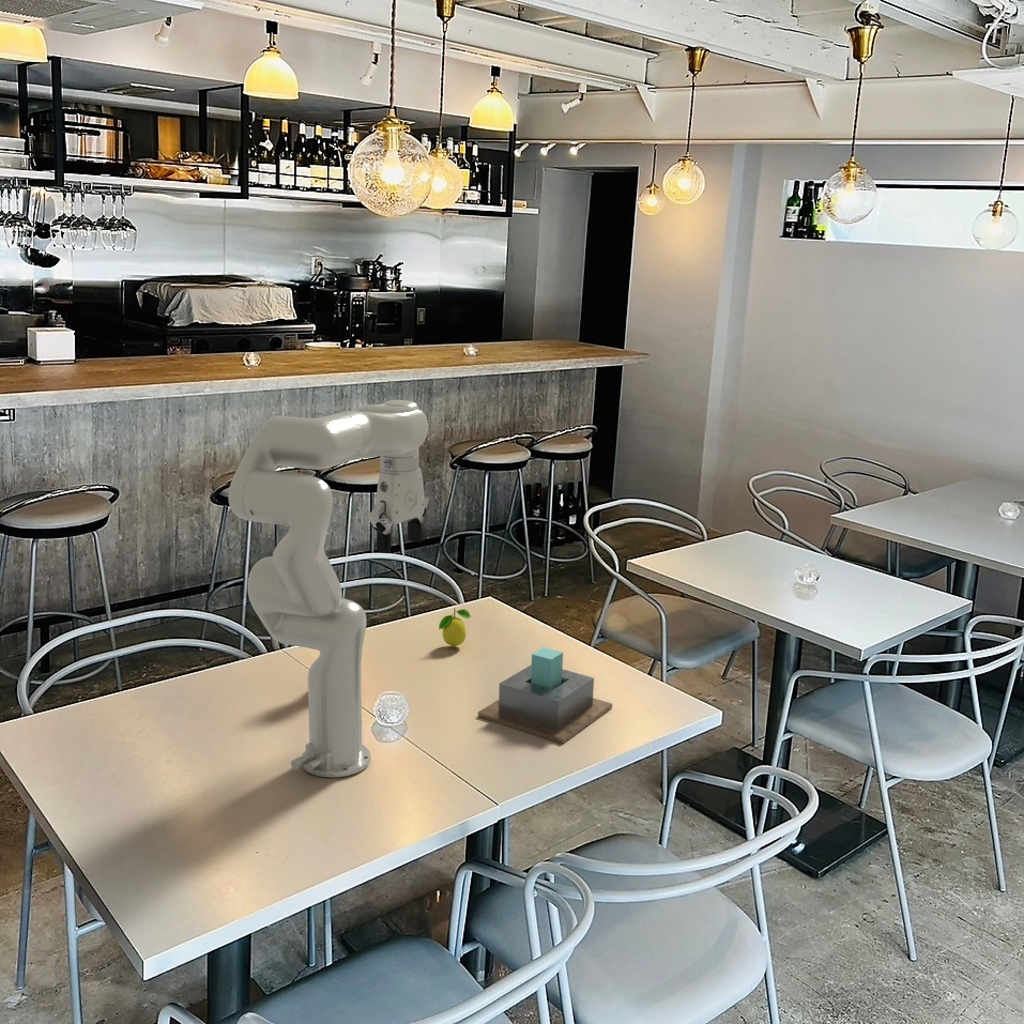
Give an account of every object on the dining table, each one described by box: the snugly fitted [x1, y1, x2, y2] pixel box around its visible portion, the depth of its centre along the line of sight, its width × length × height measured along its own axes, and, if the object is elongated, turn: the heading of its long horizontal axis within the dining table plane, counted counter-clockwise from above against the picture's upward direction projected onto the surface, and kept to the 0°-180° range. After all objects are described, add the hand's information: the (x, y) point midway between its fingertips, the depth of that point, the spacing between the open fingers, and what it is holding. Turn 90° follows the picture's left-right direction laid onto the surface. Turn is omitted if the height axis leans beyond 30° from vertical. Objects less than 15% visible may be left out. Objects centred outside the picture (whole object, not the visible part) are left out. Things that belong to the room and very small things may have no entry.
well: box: [477, 664, 613, 745], centre depth 217 cm, size 20×20×7 cm
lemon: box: [438, 607, 472, 648], centre depth 249 cm, size 7×6×10 cm
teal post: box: [530, 646, 564, 690], centre depth 216 cm, size 5×5×12 cm
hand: (399, 546), depth 214 cm, fingers open, 9 cm apart
